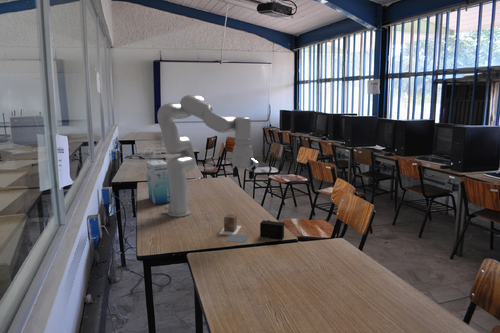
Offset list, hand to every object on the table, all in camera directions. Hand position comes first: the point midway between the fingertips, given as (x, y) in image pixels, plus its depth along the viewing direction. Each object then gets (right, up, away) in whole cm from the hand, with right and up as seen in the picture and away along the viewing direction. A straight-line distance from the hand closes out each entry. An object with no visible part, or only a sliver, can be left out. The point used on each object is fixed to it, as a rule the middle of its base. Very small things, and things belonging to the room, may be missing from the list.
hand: (243, 177), depth 184 cm
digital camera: (+14, -27, -10) cm, 32 cm away
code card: (-6, -25, -2) cm, 26 cm away
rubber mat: (-2, -27, -13) cm, 30 cm away
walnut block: (-6, -25, -2) cm, 26 cm away
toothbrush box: (-53, -16, +49) cm, 74 cm away
